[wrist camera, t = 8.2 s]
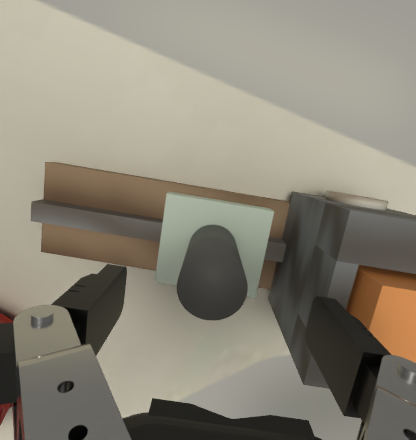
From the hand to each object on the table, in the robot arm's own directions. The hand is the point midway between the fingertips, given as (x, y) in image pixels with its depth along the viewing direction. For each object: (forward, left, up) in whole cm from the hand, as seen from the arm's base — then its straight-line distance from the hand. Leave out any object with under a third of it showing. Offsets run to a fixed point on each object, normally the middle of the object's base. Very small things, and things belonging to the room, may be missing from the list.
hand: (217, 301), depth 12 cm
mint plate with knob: (+1, 0, -12) cm, 12 cm away
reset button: (+1, +9, -4) cm, 10 cm away
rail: (+1, -1, -14) cm, 14 cm away
